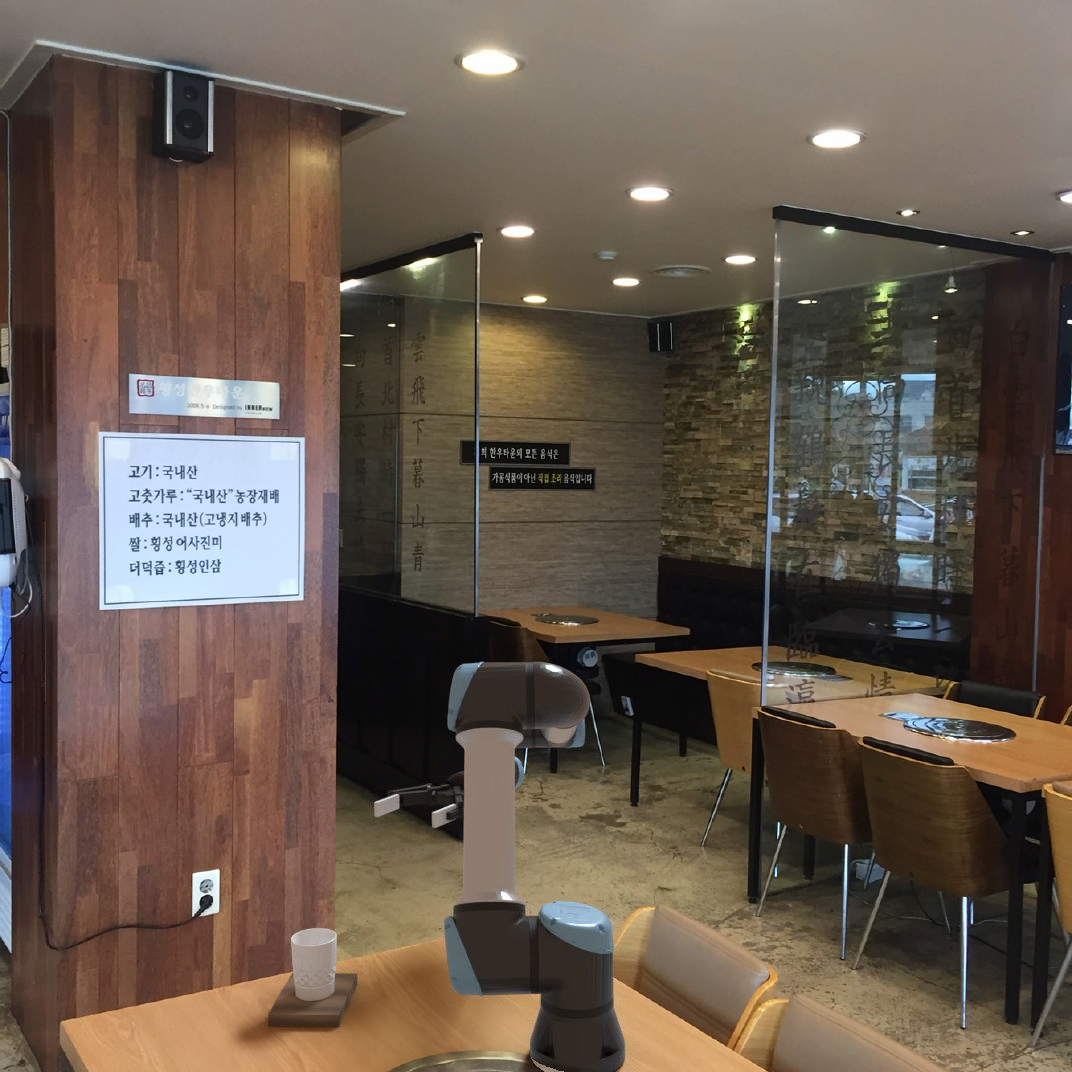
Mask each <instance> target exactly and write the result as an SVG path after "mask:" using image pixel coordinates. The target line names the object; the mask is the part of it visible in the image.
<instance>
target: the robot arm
mask: <svg viewBox="0 0 1072 1072" xmlns="http://www.w3.org/2000/svg"><path fill="white" fill-rule="evenodd" d="M450 685H451V686H450V692H449V697H448V698H449V699H448V709H447V710H448V713H447V728H448V730H450V731H452V732H453V733H454V732H455V740H456V742H457V743H458V744H459V745H460V746H461V747H462V748H463V749H464V768H463V769H464V770H462V771H458V772H456V773H454V774H451V776H449V778H448V779H447V780H446V782H445V784H441V785H438V786H433V783H425V784H423V785H418V786H411V787H404V788H399V789H393V790H388V791H387V797H385V798H382V799H379V800H376V801H375V802H373V803H374V805H373V807H374V809H373V810H374V814H373V815H374V817H376V818H379V817H381V816H384V815H386V814H389V813H391V812H394V811H398V810H399V809H400V807H407V806H409V807H410V806H417V805H428V806H430V807H432V806H433V807H435V806H442V807H443V808H440V809H438V810H437V809H436V810H435V811H432V812H431V824H432V825H431V828H434V829H437V828H438V827H439V828H440V827H441V826H444V825H445V824H448V823H450V822H452V821H455V820H457V819H461V820H462V819H463V855H462V856H463V858H462V861H463V863H462V864H463V865H462V867H463V869H462V873H463V875H462V879H463V880H462V894H461V896H460V897H458V899H457V900H456V901H455V902H454V903H453V908H452V909H453V913H452V915H453V916H452V915H449V916H446V917H445V918H444V920H443V926H444V943H445V952H446V960H447V968H448V976H449V981H450V986H451V988H452V990H453V991H454V992H456V993H457V994H459V995H462V996H463V995H464V996H465V995H466V996H480V997H484V996H505V995H506V996H507V995H508V996H509V995H510V996H511V995H512V996H513V995H514V996H515V995H540V999H539V1000H540V1004H539V1005H540V1007H539V1011H538V1014H537V1017H536V1020H535V1023H534V1026H533V1030H532V1033H531V1036H530V1041H529V1056H531V1057H532V1059H533V1060H535V1061H536V1062H538V1063H539V1064H542V1065H545V1066H546V1067H550V1068H553V1069H556V1070H558V1071H564V1072H615V1071H617V1070H618V1069H619V1068H620V1067H621V1066H622V1065H623V1063H624V1061H625V1060H626V1041H625V1037H624V1033H623V1030H622V1028H621V1025H620V1022H619V1019H618V1016H617V1012H616V1009H615V1005H614V998H615V997H614V995H615V994H614V953H613V952H614V951H615V942H614V935H613V934H614V933H613V925H612V922H611V919H610V918H609V916H608V915H607V914H605V913H604V912H603V911H602V910H600V909H598V908H596V907H594V906H591V905H590V904H586V903H582V902H577V901H576V902H575V901H567V900H566V901H565V900H558V901H553V902H547V903H545V904H543V905H542V906H541V907H540V909H539V911H538V915H527V914H526V903H525V901H524V900H523V899H521V897H520V896H519V895H518V894H517V881H516V880H517V874H516V873H517V871H516V867H517V866H516V863H517V862H516V861H517V859H516V855H517V854H516V851H517V850H516V789H517V788H519V787H520V786H521V785H522V784H523V781H524V779H525V767H524V766H523V764H522V761H521V760H520V759H519V758H518V757H517V756H516V749H536V748H537V749H538V748H544V749H545V748H553V749H554V748H561V749H562V748H565V749H571V748H580V747H583V746H584V744H585V742H586V741H585V739H586V724H585V721H586V720H585V718H586V716H587V714H588V711H589V709H590V704H591V703H590V702H591V700H590V699H591V698H590V693H589V690H588V688H587V685H585V683H584V681H583V680H582V679H581V678H580V677H578V676H577V675H576V674H574V673H573V672H572V671H570V670H568V669H566V668H564V667H562V666H560V665H557V664H553V663H549V662H543V661H533V662H532V661H531V662H527V661H525V662H524V661H523V662H522V661H521V662H517V661H516V662H515V661H514V662H511V661H510V662H502V661H501V662H500V661H499V662H485V661H480V662H474V663H462V664H461V665H459V666H458V667H456V668H455V671H454V672H453V677H452V682H451V684H450ZM433 796H434V800H433Z"/></svg>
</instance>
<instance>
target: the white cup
mask: <svg viewBox="0 0 1072 1072" xmlns="http://www.w3.org/2000/svg"><path fill="white" fill-rule="evenodd" d="M337 936H338V935H337V933H336V931H334V930H333V929H330V928H327V927H326V928H325V927H313V928H306V929H302V930H300V931H298V932H296V933H294V934H293V935H292V936H291V938H290V944H291V945H290V947H291V962H292V973H293V974H294V981H295V992H296V997H298V998H299V999H301V1000H305V1001H317V1000H322V999H325V998H327V997H329V996H331V995H332V994H333V992H334V983H335V973H336V969H337V968H336V966H337V941H338V940H337V938H338V937H337Z"/></svg>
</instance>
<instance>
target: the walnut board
mask: <svg viewBox="0 0 1072 1072" xmlns="http://www.w3.org/2000/svg"><path fill="white" fill-rule="evenodd" d="M358 978H359V977H358V972H356V973H355V972H353V973H352V972H350V973H349V972H343V973H341V972H337V973H336V972H335V983H334V992H333V994H332V995H331V996H329V997H327V998H325V999H322V1000H317V1001H305V1000H301V999H299V998H298V997H296V992H295V981H294V974H293V972H292V973H291V974H290V976H289V978H288V980H287V981H286V983H285V985H284V987H283V989H281V991H280V994H279V995H278V997H277V999H276V1000H275V1002H274V1003H273V1006H272V1007H271V1009H270V1011H269V1012H268V1013H267V1018H268V1019H267V1021H268V1022H267V1024H268V1027H329V1028H330V1027H335V1028H336V1027H338V1028H339V1027H341V1026H340V1025H341V1023H342V1021H343V1019H344V1016H345V1014H346V1012H347V1010H348V1007H349V1005H350V1003H351V1000H352V998H353V996H352V995H354V994H353V993H355V991H356V989H355V988H357V987H356V986H358V984H357V983H358V982H359V981H358Z"/></svg>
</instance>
